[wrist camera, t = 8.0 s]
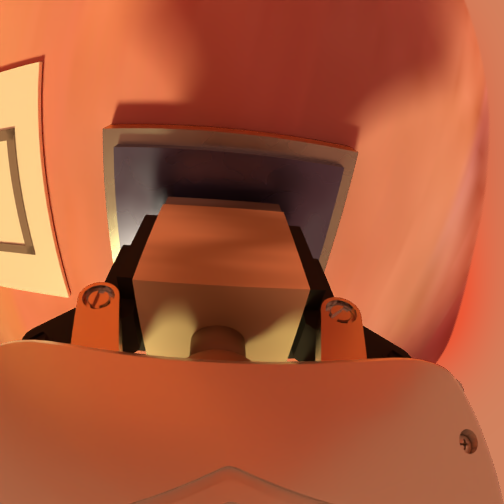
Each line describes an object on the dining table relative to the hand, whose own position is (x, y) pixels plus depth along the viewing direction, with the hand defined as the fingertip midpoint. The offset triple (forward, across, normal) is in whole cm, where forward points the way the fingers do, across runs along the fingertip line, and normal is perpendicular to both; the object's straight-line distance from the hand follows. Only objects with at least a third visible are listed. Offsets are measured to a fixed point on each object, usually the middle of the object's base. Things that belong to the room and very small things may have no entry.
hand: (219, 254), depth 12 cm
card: (+3, +15, -1) cm, 15 cm away
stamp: (+1, 0, 0) cm, 1 cm away
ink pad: (+3, 0, 0) cm, 3 cm away
